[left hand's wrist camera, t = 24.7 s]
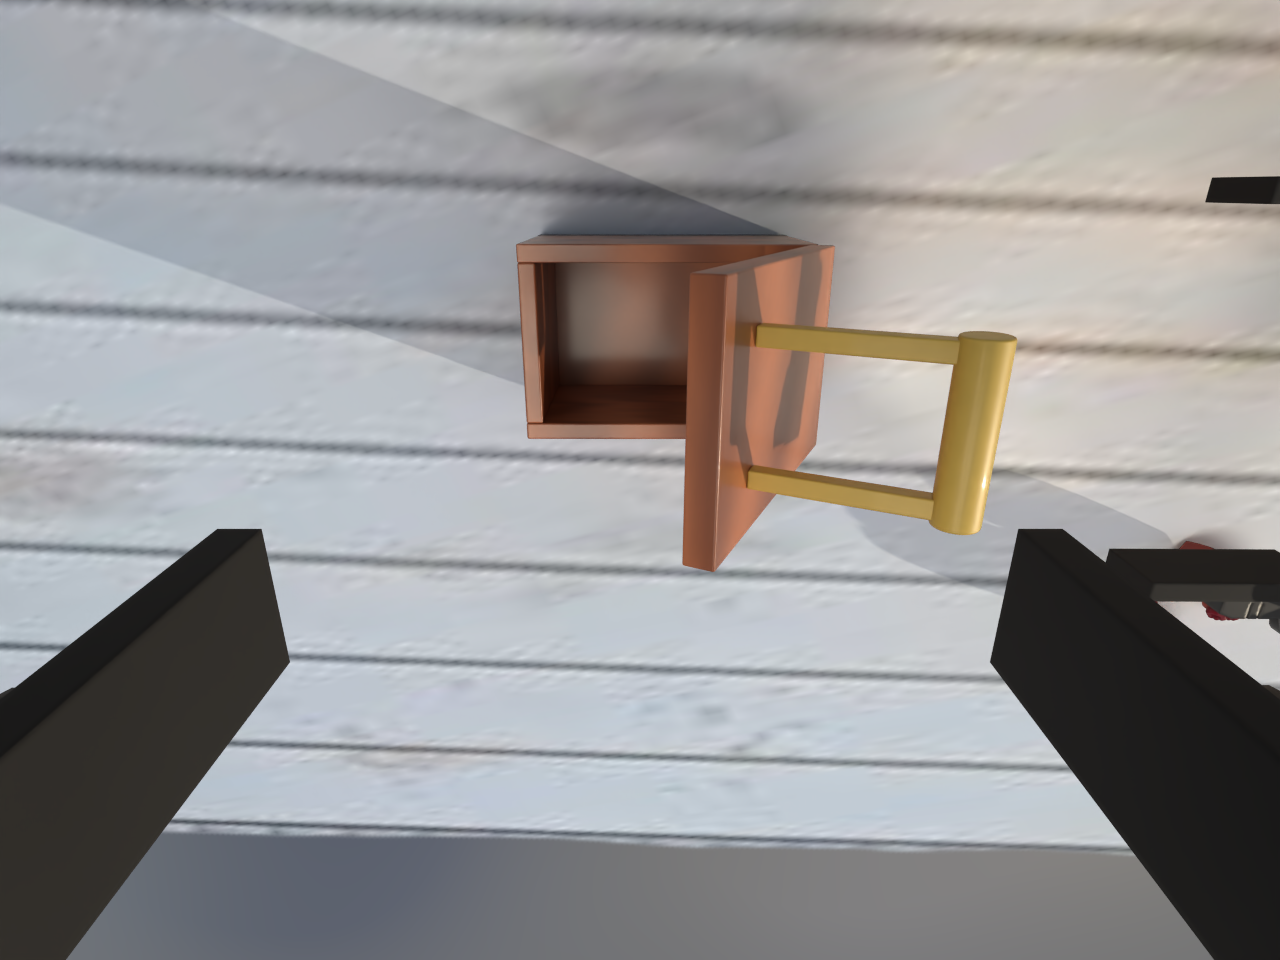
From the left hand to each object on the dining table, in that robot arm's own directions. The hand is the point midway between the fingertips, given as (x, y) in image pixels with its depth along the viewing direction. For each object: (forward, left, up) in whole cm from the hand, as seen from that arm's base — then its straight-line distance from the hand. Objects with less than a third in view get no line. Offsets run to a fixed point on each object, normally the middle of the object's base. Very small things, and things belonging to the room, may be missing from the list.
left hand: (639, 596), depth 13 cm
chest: (0, +1, -31) cm, 32 cm away
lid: (-1, +4, -16) cm, 17 cm away
